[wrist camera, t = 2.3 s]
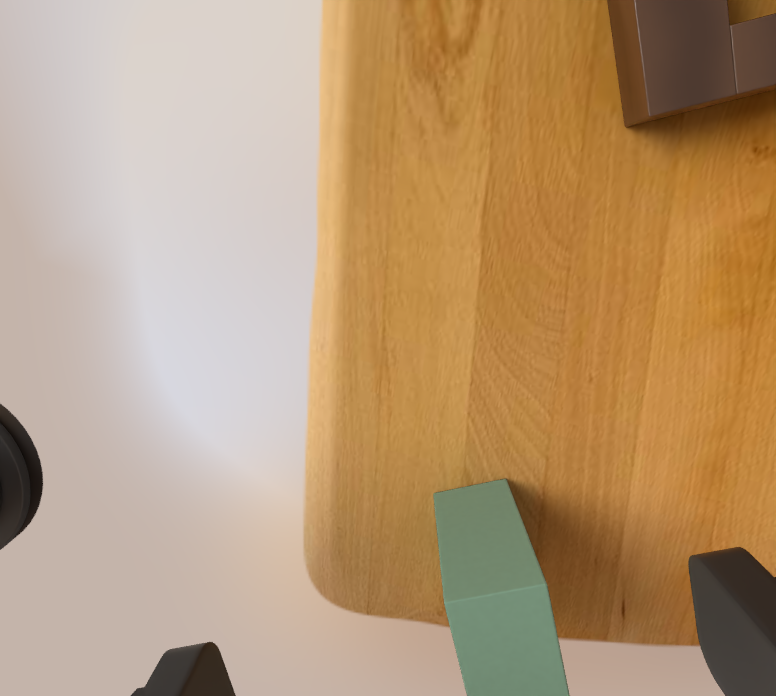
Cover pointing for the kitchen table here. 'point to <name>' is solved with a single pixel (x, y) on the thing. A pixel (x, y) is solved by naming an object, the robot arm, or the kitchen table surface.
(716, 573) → the robot arm
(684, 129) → the kitchen table surface
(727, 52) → the seat frame
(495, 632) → the back pad
